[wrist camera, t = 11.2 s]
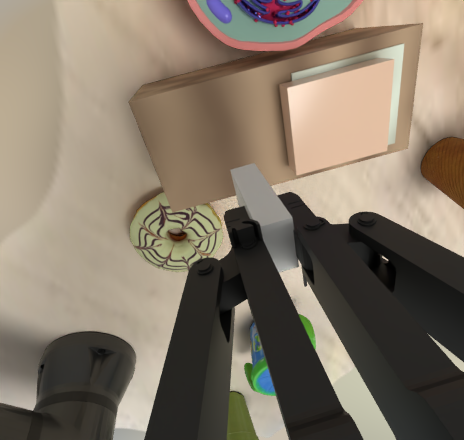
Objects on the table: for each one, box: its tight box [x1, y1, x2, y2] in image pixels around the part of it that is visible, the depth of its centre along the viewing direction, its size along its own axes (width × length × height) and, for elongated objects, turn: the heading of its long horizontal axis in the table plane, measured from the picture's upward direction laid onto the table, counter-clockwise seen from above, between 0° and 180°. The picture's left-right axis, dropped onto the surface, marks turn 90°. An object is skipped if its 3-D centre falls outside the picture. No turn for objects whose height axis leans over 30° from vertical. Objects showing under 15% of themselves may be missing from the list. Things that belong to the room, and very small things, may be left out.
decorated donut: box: [130, 192, 223, 272], centre depth 38 cm, size 11×12×4 cm
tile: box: [279, 58, 394, 176], centre depth 23 cm, size 2×7×8 cm
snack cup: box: [244, 314, 316, 396], centre depth 49 cm, size 16×10×10 cm
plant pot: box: [227, 392, 259, 440], centre depth 61 cm, size 12×12×11 cm
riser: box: [129, 23, 423, 213], centre depth 29 cm, size 23×10×10 cm, turn 102°
